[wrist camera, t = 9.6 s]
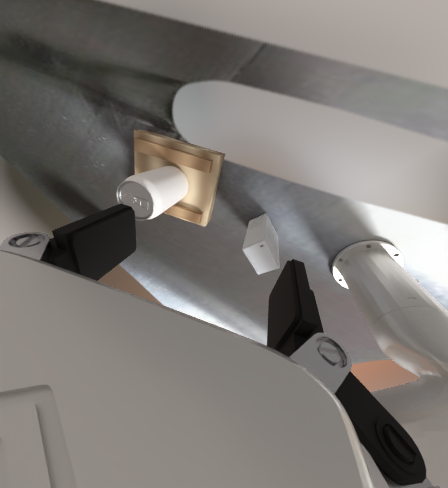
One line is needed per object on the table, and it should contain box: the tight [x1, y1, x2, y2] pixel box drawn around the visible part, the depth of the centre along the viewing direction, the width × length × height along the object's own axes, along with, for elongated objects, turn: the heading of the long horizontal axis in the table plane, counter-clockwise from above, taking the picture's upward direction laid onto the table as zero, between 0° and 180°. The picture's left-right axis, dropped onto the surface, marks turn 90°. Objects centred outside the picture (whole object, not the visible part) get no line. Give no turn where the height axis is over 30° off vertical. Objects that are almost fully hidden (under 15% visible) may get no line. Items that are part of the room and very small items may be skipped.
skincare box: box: [242, 213, 280, 275], centre depth 35 cm, size 6×4×12 cm
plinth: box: [134, 130, 225, 226], centre depth 36 cm, size 16×14×6 cm
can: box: [116, 166, 188, 221], centre depth 30 cm, size 6×6×12 cm
